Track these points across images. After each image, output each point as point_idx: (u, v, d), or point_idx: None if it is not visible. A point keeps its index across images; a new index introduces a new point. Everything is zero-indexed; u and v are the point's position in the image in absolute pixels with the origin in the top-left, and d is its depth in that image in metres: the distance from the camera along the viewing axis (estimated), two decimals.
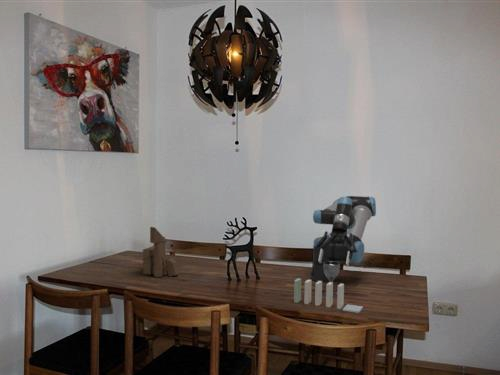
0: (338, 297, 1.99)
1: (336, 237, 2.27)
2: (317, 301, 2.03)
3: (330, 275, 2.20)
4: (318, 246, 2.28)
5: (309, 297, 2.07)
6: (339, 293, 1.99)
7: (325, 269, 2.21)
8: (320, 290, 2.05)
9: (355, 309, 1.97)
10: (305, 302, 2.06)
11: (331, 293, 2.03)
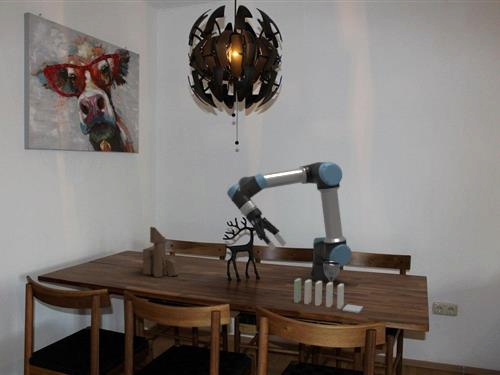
0: (338, 297, 1.99)
1: None
2: (317, 301, 2.03)
3: (330, 275, 2.20)
4: None
5: (309, 297, 2.07)
6: (339, 293, 1.99)
7: (325, 269, 2.21)
8: (320, 290, 2.05)
9: (355, 309, 1.97)
10: (305, 302, 2.06)
11: (331, 293, 2.03)
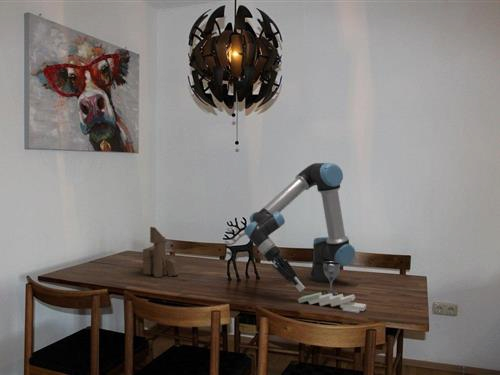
0: (351, 306, 1.97)
1: None
2: (323, 303, 2.02)
3: (330, 275, 2.20)
4: None
5: None
6: (356, 308, 1.96)
7: (325, 269, 2.21)
8: None
9: None
10: (310, 301, 2.05)
11: None
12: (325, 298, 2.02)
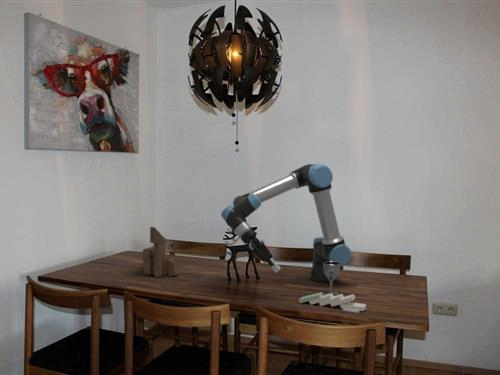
0: (351, 306, 1.97)
1: None
2: (323, 303, 2.02)
3: (330, 275, 2.20)
4: None
5: None
6: (356, 308, 1.96)
7: (325, 269, 2.21)
8: None
9: None
10: (311, 301, 2.05)
11: None
12: (326, 298, 2.02)
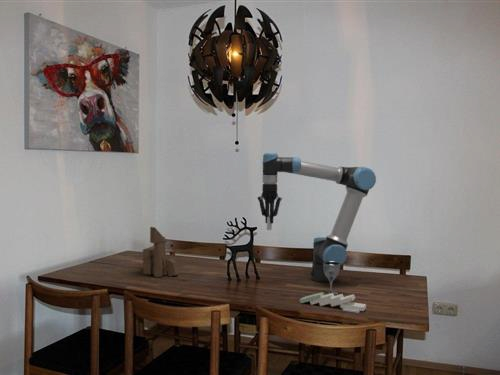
0: (351, 306, 1.97)
1: (267, 198, 2.32)
2: (323, 303, 2.02)
3: (330, 275, 2.20)
4: (264, 214, 2.34)
5: None
6: (356, 308, 1.96)
7: (325, 269, 2.21)
8: None
9: None
10: (311, 301, 2.05)
11: None
12: (326, 298, 2.01)
